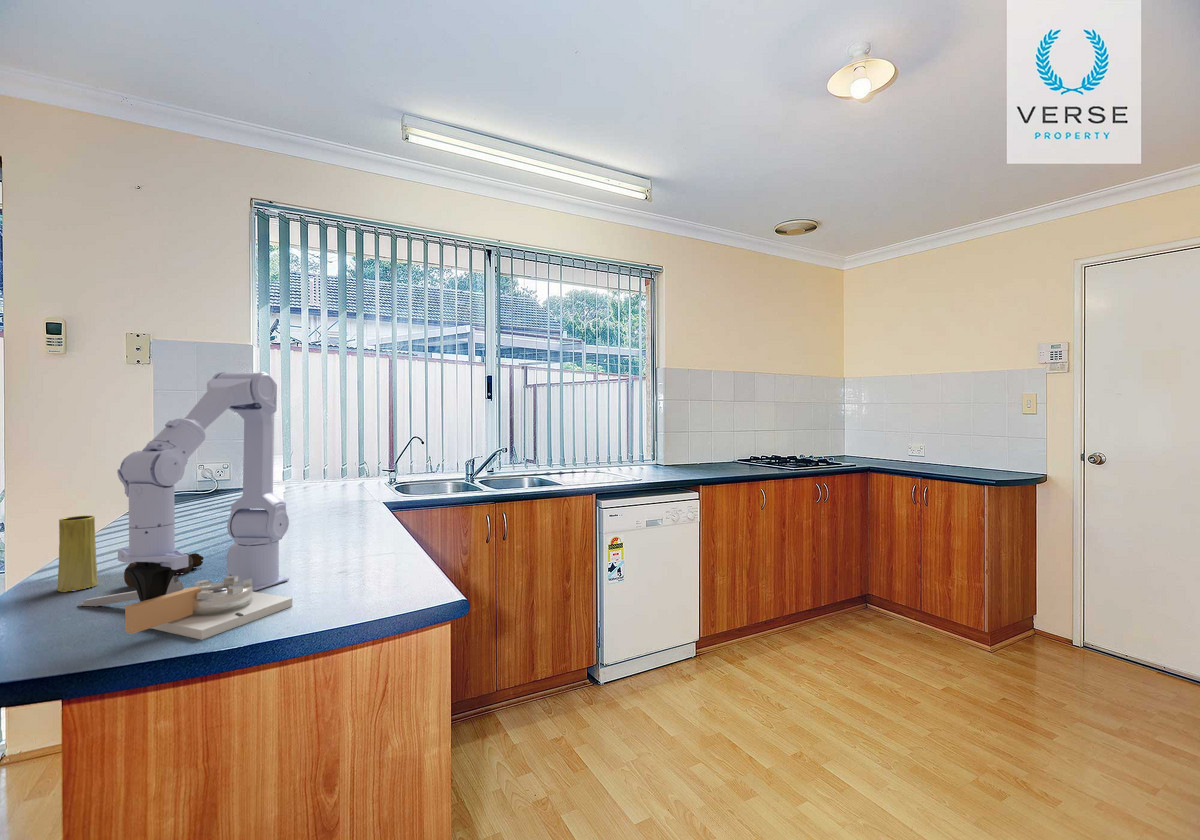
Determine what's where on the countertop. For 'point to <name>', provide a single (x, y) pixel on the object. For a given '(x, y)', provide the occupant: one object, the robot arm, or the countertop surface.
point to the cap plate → (226, 617)
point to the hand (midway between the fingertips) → (152, 608)
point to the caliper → (129, 595)
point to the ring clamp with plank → (189, 603)
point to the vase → (77, 553)
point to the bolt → (193, 562)
